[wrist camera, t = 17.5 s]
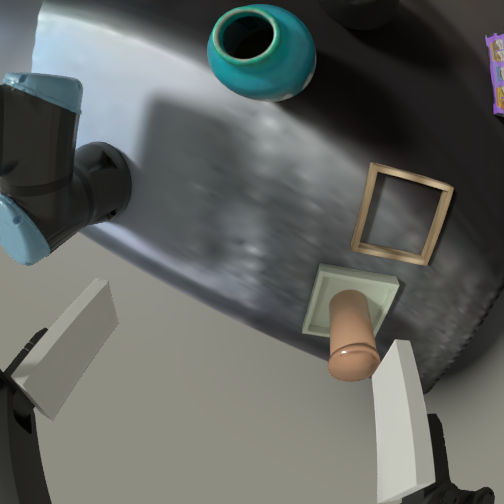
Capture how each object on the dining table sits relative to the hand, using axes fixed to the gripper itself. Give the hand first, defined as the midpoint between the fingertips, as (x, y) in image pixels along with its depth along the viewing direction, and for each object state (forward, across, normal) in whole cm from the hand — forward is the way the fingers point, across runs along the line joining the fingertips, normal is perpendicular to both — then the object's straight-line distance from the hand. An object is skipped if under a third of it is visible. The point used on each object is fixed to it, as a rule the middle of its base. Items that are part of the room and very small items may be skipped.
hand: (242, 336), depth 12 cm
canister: (+31, +14, -22) cm, 41 cm away
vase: (+33, -4, +14) cm, 36 cm away
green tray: (+32, +14, -22) cm, 41 cm away
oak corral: (+32, +18, -4) cm, 37 cm away
